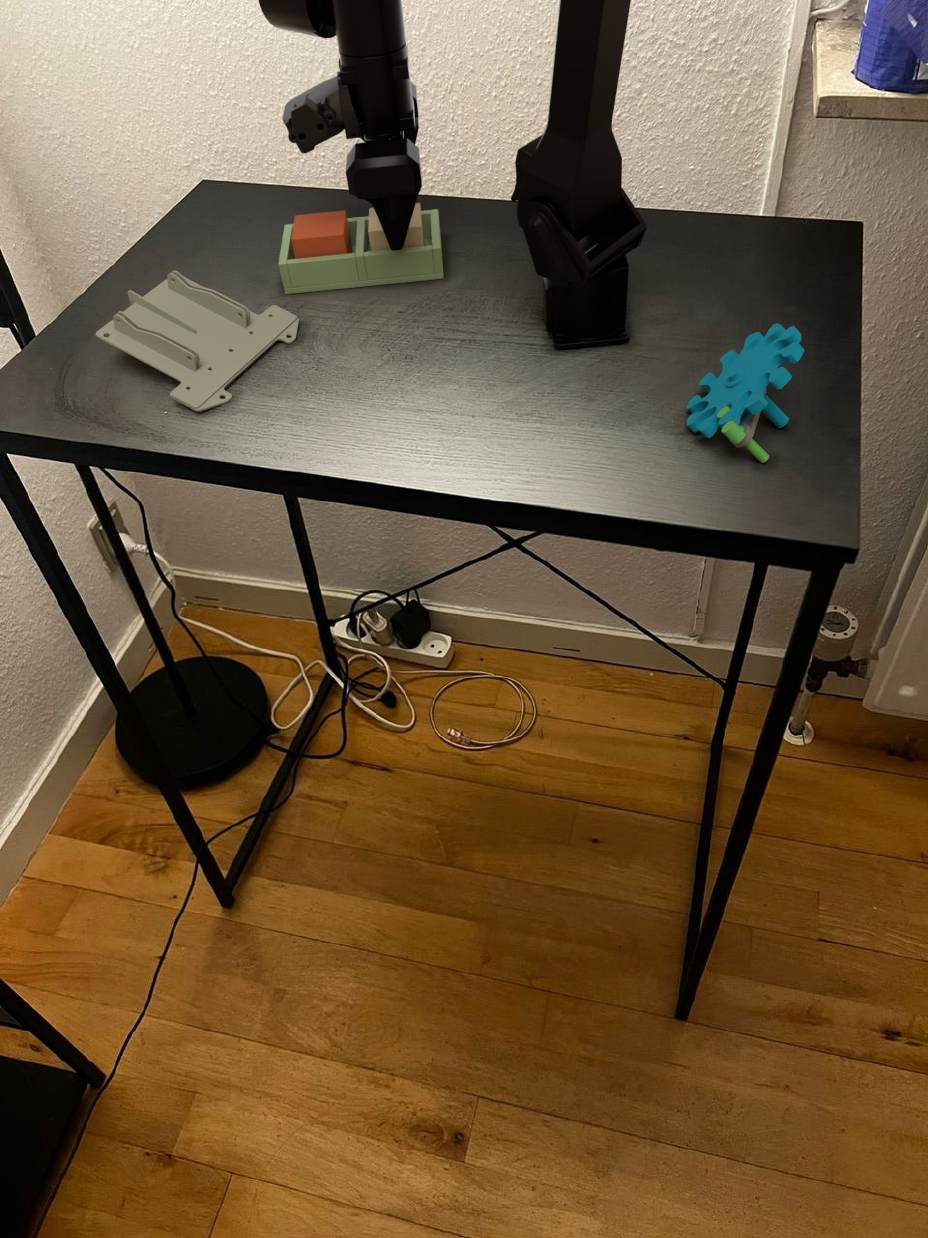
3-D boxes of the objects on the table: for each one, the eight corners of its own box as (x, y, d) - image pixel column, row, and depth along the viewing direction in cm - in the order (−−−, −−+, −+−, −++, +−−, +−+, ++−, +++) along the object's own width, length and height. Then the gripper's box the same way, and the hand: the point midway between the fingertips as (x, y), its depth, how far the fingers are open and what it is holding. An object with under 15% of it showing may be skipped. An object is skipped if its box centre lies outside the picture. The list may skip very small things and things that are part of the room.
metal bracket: (66, 324, 78) (179, 241, 87) (77, 377, 83) (184, 293, 92) (208, 401, 77) (311, 308, 85) (212, 450, 81) (308, 358, 90)
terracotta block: (352, 248, 94) (345, 209, 92) (350, 273, 91) (343, 234, 88) (303, 253, 95) (294, 214, 92) (299, 278, 91) (291, 239, 88)
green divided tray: (441, 238, 96) (437, 208, 93) (443, 278, 90) (440, 247, 88) (291, 253, 96) (284, 224, 94) (285, 294, 91) (278, 264, 88)
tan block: (424, 241, 94) (420, 202, 91) (425, 266, 91) (421, 226, 88) (375, 246, 94) (369, 207, 91) (374, 271, 91) (368, 231, 88)
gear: (698, 356, 75) (804, 294, 67) (745, 404, 78) (852, 349, 70) (662, 455, 70) (773, 399, 62) (713, 503, 72) (826, 455, 64)
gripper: (285, 19, 85) (319, 192, 97) (267, 97, 73) (308, 284, 84) (407, 6, 85) (426, 181, 97) (410, 82, 73) (431, 271, 84)
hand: (396, 226), depth 90 cm, fingers open, 9 cm apart
